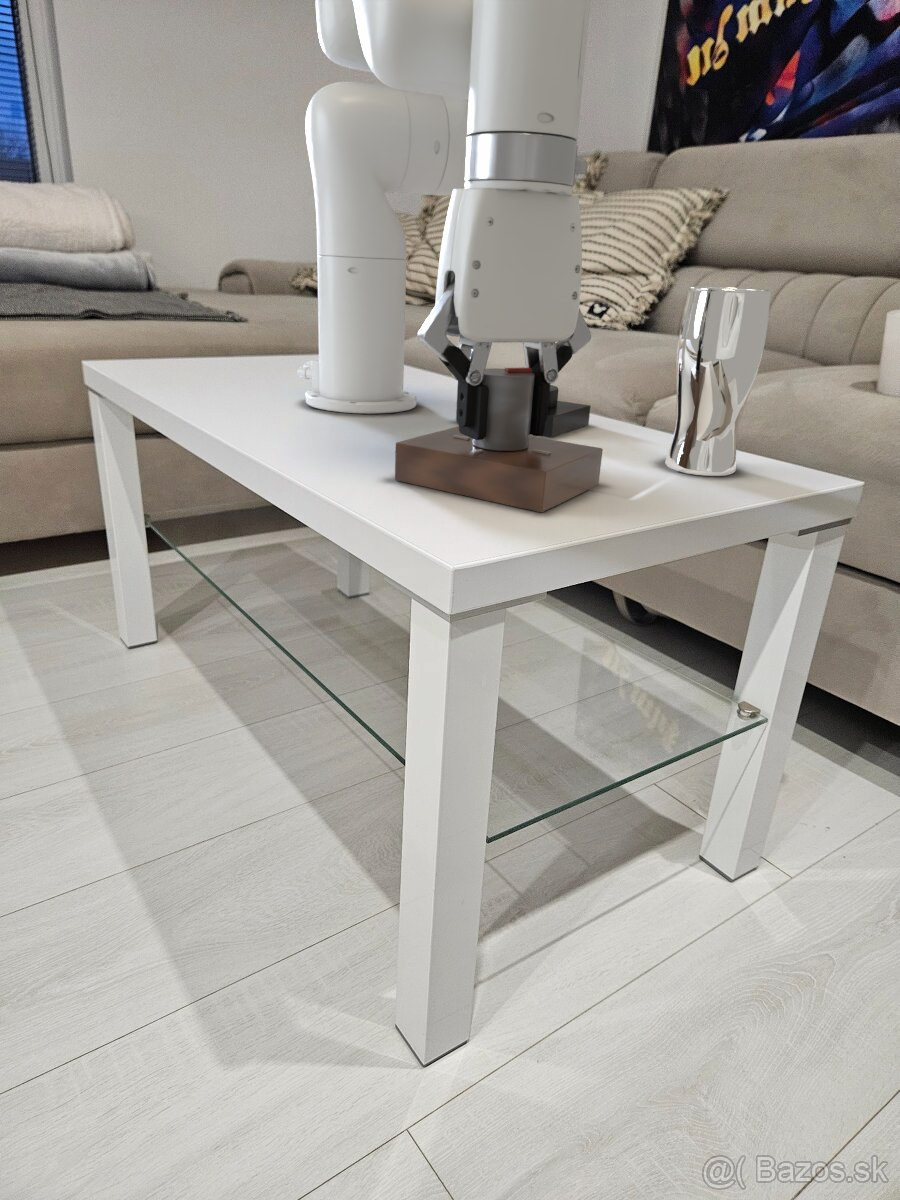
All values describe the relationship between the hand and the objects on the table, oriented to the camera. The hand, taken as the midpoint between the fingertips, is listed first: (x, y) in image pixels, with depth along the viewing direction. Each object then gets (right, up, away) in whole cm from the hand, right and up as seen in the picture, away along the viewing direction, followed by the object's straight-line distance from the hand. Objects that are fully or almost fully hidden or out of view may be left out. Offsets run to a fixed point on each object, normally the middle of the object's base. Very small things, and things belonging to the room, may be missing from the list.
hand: (501, 431), depth 64 cm
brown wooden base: (0, -4, +2) cm, 4 cm away
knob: (0, -1, 0) cm, 1 cm away
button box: (+4, +6, +24) cm, 25 cm away
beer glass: (+18, -1, +10) cm, 21 cm away
